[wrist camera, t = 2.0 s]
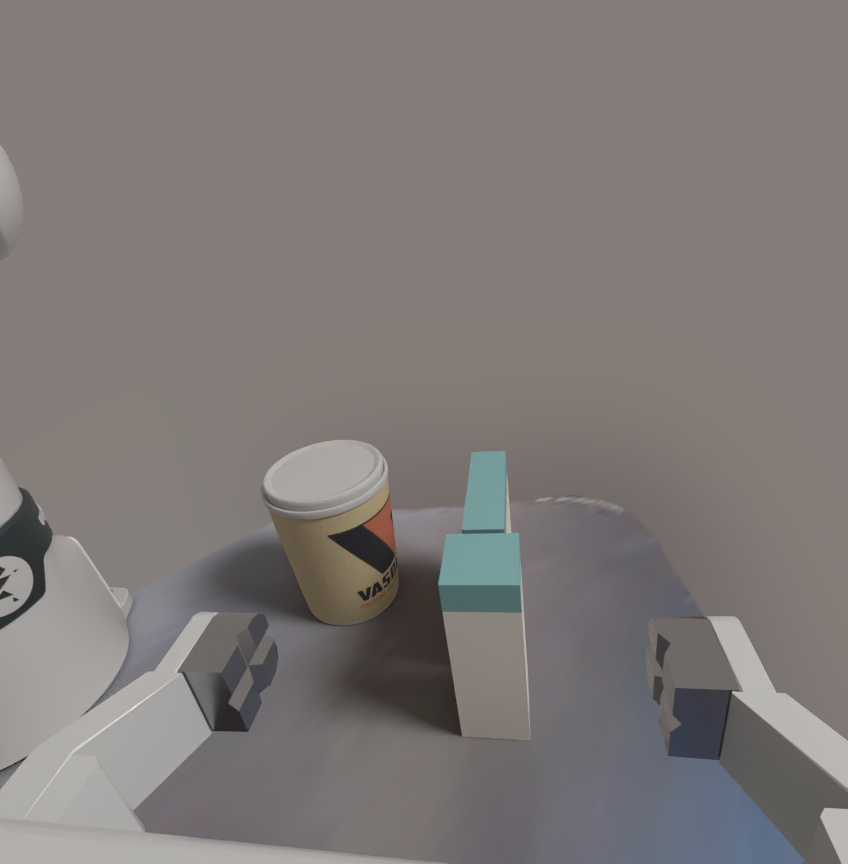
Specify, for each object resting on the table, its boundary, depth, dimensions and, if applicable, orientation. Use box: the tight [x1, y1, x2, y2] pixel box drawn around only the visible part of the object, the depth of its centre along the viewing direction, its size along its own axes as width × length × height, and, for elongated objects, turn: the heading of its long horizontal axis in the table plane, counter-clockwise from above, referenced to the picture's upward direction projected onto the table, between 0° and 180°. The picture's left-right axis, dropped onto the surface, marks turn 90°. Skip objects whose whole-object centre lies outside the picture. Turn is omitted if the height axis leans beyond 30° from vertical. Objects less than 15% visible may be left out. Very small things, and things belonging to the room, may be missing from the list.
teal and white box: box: [462, 451, 511, 534], centre depth 36 cm, size 3×9×12 cm, turn 172°
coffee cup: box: [261, 440, 399, 626], centre depth 41 cm, size 9×9×12 cm
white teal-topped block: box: [438, 533, 530, 741], centre depth 30 cm, size 4×4×12 cm
